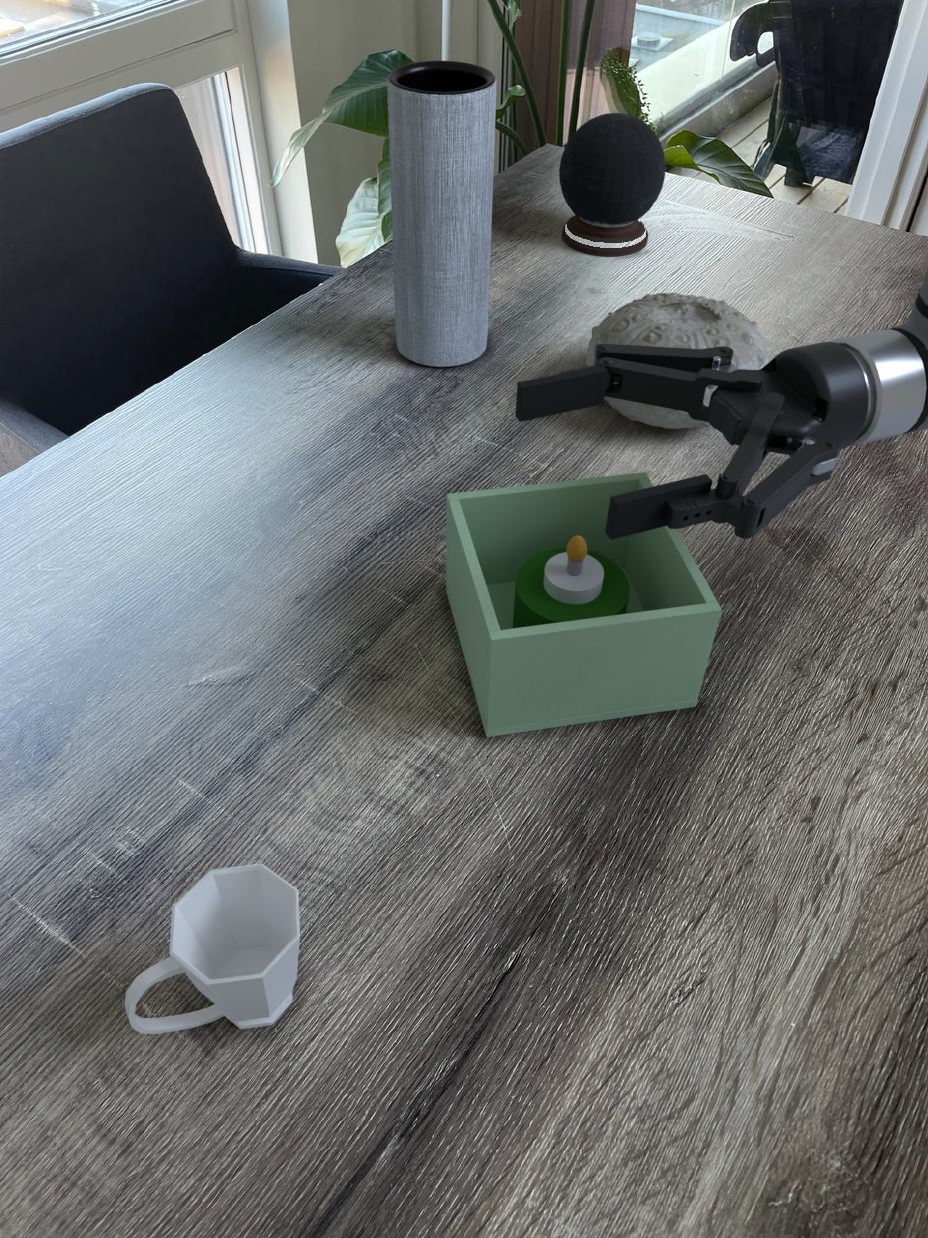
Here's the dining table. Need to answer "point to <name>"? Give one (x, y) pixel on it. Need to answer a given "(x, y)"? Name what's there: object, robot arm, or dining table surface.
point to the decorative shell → (678, 342)
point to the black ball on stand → (611, 182)
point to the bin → (581, 649)
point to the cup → (229, 950)
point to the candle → (568, 586)
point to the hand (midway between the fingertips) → (560, 456)
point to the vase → (441, 208)
